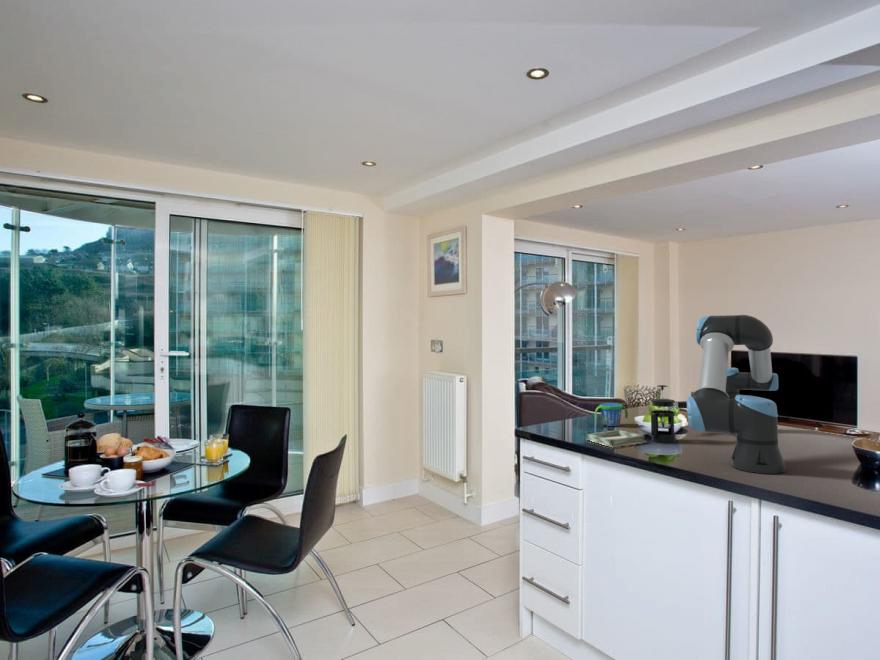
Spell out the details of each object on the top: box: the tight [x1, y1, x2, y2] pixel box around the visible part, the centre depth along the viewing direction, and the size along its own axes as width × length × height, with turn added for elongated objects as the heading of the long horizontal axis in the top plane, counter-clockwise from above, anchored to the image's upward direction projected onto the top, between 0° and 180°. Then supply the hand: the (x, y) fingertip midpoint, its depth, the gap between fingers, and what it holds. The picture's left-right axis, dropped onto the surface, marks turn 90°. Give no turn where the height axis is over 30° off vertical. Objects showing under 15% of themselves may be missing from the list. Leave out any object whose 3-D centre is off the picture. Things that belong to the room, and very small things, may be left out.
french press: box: [650, 384, 677, 444], centre depth 210 cm, size 12×9×23 cm
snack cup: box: [594, 402, 629, 427], centre depth 245 cm, size 16×10×10 cm
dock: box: [584, 429, 647, 449], centre depth 210 cm, size 16×18×3 cm
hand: (679, 408), depth 214 cm, fingers open, 13 cm apart
